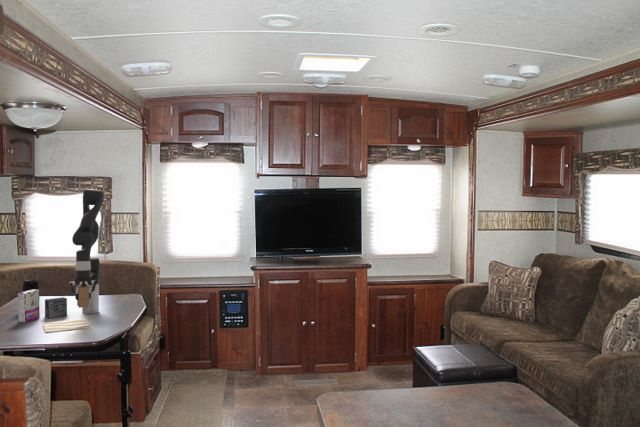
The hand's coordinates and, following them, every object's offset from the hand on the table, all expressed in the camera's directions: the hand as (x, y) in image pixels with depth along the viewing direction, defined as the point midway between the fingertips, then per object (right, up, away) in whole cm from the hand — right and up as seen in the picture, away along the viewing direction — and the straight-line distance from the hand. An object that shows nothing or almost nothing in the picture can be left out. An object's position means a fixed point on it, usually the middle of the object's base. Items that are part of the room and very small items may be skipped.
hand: (83, 299), depth 292 cm
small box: (-24, -13, +18) cm, 32 cm away
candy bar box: (-34, -13, +8) cm, 38 cm away
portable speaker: (-44, -12, +29) cm, 54 cm away
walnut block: (0, -3, 0) cm, 3 cm away
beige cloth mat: (-7, -14, -4) cm, 16 cm away
